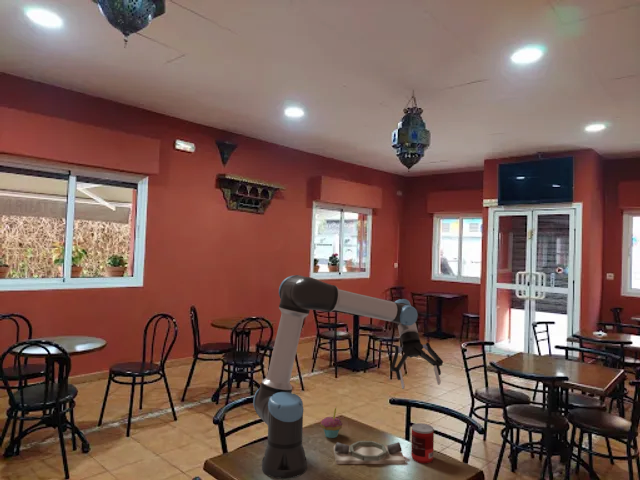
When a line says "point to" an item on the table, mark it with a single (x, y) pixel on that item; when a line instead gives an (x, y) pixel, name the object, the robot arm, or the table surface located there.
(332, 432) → the cupcake
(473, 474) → the table surface
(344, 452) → the plate
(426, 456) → the canned food
